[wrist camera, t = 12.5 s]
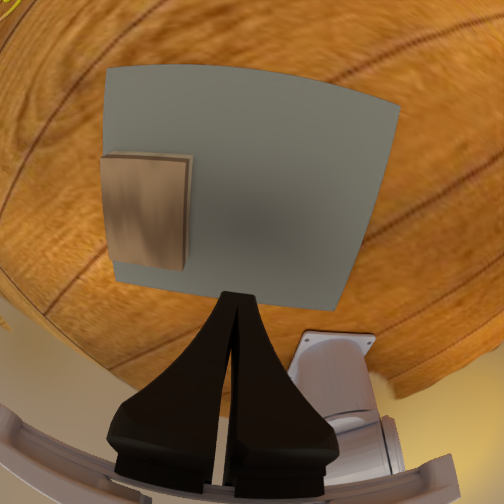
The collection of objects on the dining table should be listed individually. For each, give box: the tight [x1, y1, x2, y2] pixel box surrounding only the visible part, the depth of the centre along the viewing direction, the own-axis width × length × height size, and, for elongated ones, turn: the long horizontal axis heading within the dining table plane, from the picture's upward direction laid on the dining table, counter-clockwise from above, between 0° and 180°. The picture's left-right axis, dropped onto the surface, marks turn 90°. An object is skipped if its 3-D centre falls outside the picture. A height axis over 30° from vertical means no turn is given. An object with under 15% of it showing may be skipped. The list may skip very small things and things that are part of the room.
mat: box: [103, 64, 401, 311], centre depth 19 cm, size 18×20×1 cm
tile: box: [100, 151, 193, 272], centre depth 19 cm, size 8×2×6 cm
